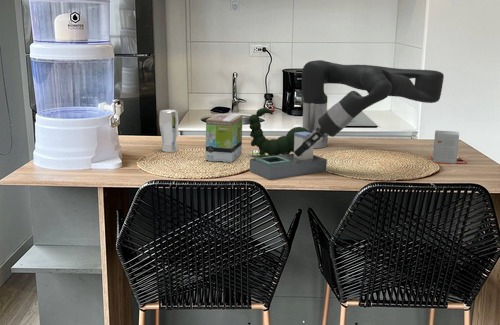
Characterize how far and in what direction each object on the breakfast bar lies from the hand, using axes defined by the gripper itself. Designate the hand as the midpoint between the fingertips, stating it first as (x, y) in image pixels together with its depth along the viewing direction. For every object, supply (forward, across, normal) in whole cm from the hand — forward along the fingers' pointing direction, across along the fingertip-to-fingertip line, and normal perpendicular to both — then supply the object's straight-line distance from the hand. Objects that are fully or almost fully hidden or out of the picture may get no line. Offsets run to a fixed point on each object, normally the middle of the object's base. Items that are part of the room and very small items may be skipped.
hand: (298, 152), depth 181 cm
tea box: (+24, +6, +16) cm, 30 cm away
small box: (-29, +29, -37) cm, 55 cm away
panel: (+6, -4, -2) cm, 8 cm away
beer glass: (+40, +9, +32) cm, 53 cm away
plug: (+3, 0, -5) cm, 6 cm away
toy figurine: (+10, +14, +2) cm, 18 cm away
